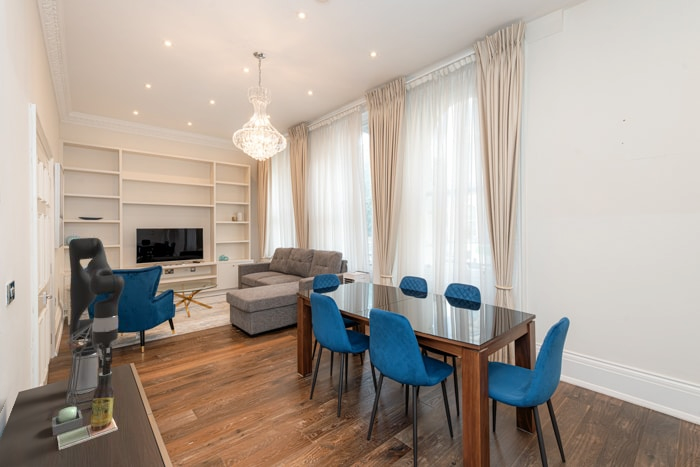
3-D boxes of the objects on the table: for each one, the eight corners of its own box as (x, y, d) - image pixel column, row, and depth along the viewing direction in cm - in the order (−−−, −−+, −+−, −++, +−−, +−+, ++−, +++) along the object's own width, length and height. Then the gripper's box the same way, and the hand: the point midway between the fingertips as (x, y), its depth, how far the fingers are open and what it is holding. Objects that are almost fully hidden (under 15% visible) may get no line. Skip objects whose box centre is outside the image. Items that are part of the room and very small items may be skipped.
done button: (58, 420, 117) (58, 410, 117) (75, 415, 121) (75, 405, 121) (58, 426, 114) (59, 415, 114) (76, 420, 117) (77, 410, 117)
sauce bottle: (86, 432, 112) (88, 377, 113) (95, 423, 118) (97, 370, 119) (108, 430, 114) (109, 375, 114) (115, 420, 120) (117, 369, 121)
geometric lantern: (64, 403, 134) (70, 321, 136) (110, 393, 143) (115, 317, 145) (59, 419, 121) (66, 329, 123) (110, 407, 131) (115, 324, 133)
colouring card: (57, 437, 111) (57, 434, 111) (112, 419, 122) (112, 417, 122) (59, 450, 104) (59, 448, 104) (117, 429, 115) (117, 427, 115)
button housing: (52, 426, 117) (52, 418, 117) (80, 418, 123) (80, 409, 123) (53, 435, 111) (53, 426, 112) (82, 426, 117) (82, 418, 117)
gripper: (90, 326, 119) (88, 368, 119) (95, 334, 109) (94, 380, 109) (114, 322, 125) (113, 362, 124) (121, 330, 115) (120, 373, 114)
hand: (104, 370), depth 117 cm, fingers open, 8 cm apart
